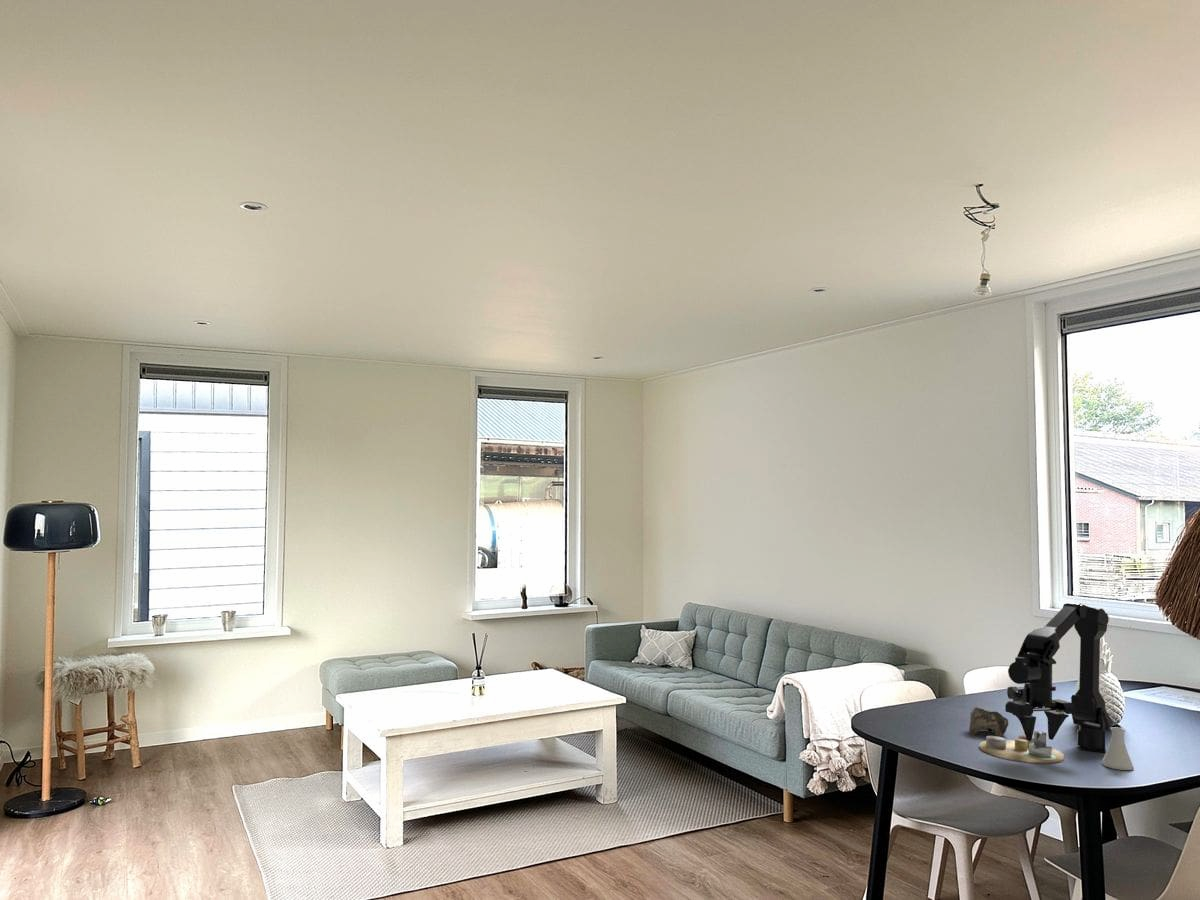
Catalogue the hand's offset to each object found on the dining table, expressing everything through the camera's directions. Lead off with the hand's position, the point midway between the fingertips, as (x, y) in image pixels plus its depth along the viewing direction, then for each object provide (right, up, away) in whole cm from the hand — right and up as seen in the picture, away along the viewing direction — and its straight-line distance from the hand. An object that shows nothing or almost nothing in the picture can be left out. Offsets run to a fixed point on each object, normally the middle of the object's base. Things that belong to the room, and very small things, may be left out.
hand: (1039, 740), depth 242 cm
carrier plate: (-2, -5, +6) cm, 8 cm away
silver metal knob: (0, -4, 0) cm, 4 cm away
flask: (+18, -6, -5) cm, 19 cm away
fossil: (-3, -7, +26) cm, 27 cm away
